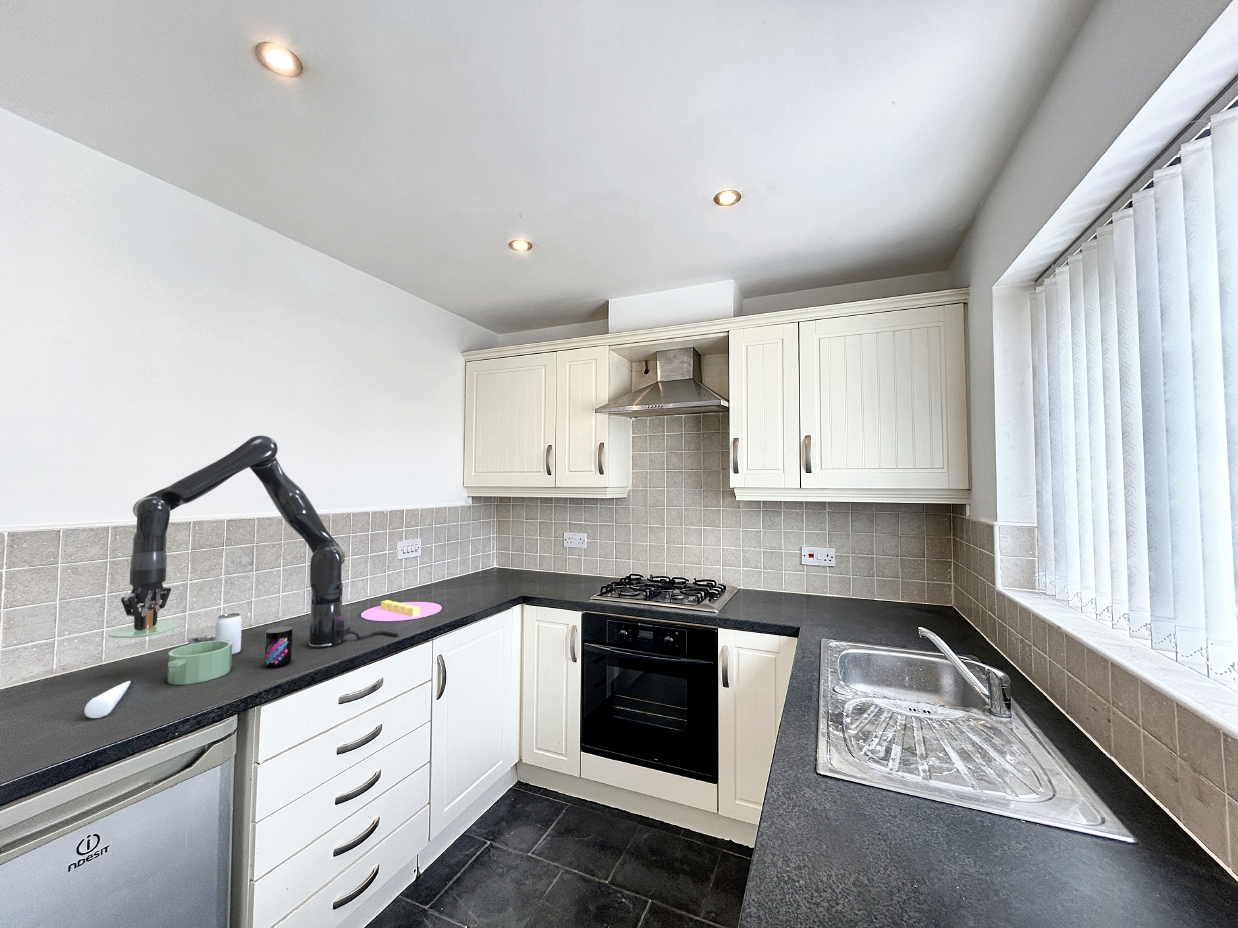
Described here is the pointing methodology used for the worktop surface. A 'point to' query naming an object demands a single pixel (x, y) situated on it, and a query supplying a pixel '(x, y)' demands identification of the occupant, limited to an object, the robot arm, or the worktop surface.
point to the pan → (199, 662)
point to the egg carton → (200, 639)
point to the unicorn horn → (105, 701)
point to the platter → (400, 611)
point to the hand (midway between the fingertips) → (145, 627)
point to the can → (229, 630)
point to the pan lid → (149, 628)
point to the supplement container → (278, 647)
